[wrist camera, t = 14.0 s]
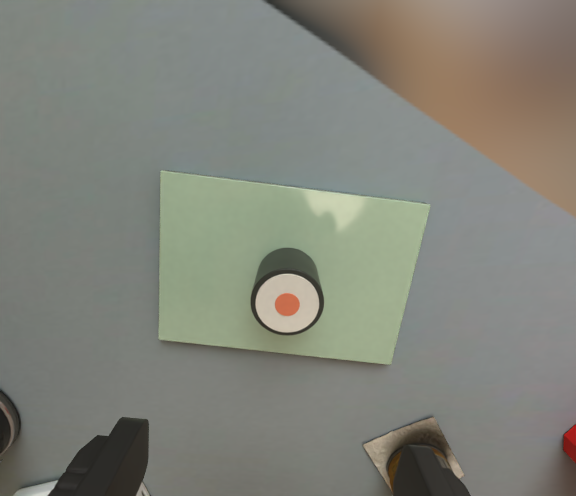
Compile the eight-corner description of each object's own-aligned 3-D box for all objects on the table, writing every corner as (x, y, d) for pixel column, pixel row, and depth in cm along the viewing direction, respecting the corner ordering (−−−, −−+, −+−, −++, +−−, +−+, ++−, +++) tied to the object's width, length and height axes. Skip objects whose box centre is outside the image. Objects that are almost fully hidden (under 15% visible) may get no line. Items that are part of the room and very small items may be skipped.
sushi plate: (162, 333, 28) (158, 340, 27) (165, 170, 24) (160, 170, 23) (387, 358, 28) (391, 365, 28) (425, 202, 25) (431, 204, 24)
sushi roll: (254, 300, 26) (246, 333, 21) (260, 243, 24) (253, 265, 20) (313, 307, 26) (318, 341, 21) (322, 251, 25) (330, 274, 20)
